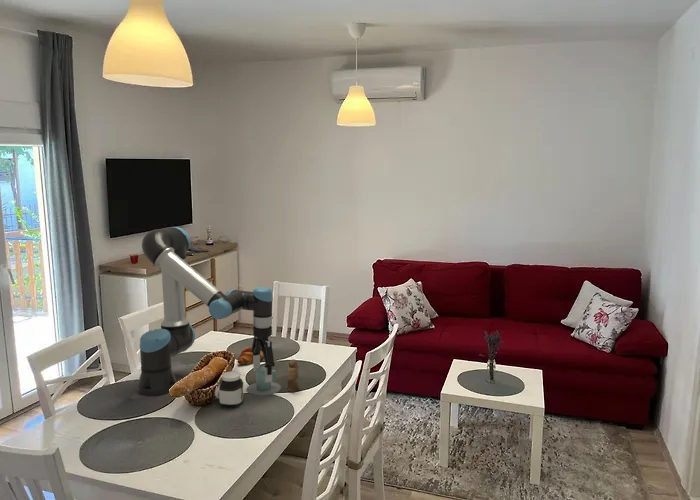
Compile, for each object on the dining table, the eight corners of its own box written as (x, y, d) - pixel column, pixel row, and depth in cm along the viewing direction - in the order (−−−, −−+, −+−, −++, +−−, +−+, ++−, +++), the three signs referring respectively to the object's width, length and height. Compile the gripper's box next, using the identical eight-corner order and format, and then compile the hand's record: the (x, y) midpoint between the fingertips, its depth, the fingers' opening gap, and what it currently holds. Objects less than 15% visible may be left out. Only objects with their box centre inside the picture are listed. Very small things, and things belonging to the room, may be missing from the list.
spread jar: (235, 410, 202) (235, 380, 201) (207, 407, 205) (206, 377, 203) (248, 397, 214) (247, 368, 212) (221, 394, 216) (220, 366, 215)
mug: (259, 392, 218) (259, 373, 217) (254, 387, 223) (254, 368, 222) (278, 388, 222) (277, 369, 221) (272, 383, 227) (272, 365, 226)
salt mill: (290, 392, 218) (290, 362, 216) (285, 389, 222) (285, 359, 220) (300, 390, 220) (300, 360, 219) (295, 387, 224) (295, 357, 222)
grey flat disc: (253, 398, 213) (253, 397, 213) (241, 385, 225) (241, 385, 225) (286, 391, 220) (286, 390, 220) (273, 379, 232) (273, 379, 232)
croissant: (260, 359, 267) (254, 344, 268) (275, 352, 263) (269, 337, 264) (234, 372, 248) (227, 356, 249) (250, 365, 244) (243, 349, 244)
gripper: (283, 333, 210) (282, 385, 213) (260, 316, 231) (260, 364, 234) (265, 335, 206) (264, 388, 209) (243, 318, 227) (243, 367, 230)
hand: (262, 375), depth 222 cm, fingers open, 13 cm apart
